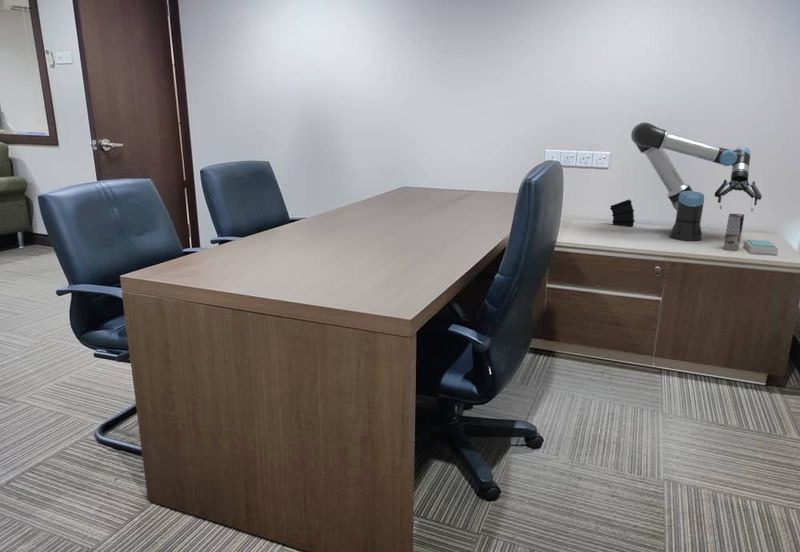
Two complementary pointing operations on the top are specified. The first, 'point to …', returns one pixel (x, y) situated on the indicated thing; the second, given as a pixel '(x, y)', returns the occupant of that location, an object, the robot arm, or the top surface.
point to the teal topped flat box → (760, 249)
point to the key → (761, 243)
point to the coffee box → (733, 231)
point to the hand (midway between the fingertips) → (736, 208)
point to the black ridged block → (623, 214)
